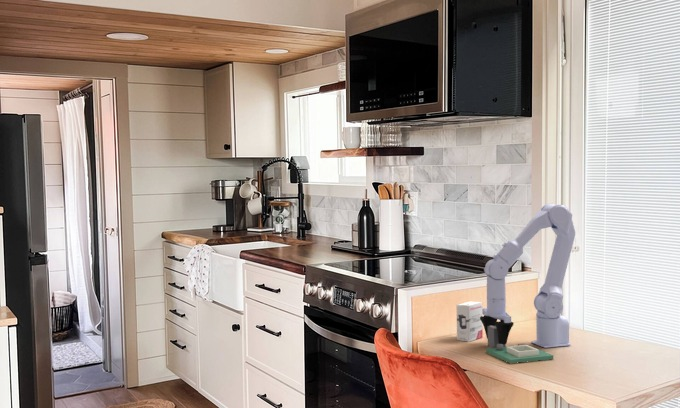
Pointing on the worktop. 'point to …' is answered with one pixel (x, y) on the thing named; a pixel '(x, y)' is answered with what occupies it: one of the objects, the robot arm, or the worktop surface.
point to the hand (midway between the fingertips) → (496, 341)
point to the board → (518, 353)
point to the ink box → (469, 321)
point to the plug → (493, 337)
